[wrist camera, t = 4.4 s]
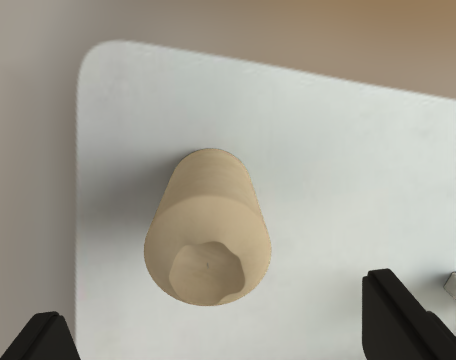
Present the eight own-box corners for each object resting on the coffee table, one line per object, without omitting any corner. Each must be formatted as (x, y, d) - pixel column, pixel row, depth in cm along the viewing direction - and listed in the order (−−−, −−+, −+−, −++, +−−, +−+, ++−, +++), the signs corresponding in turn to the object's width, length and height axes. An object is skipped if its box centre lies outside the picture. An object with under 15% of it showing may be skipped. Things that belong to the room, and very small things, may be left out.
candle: (190, 133, 20) (167, 187, 11) (264, 167, 21) (303, 244, 12) (158, 204, 22) (115, 305, 12) (229, 233, 23) (239, 347, 13)
